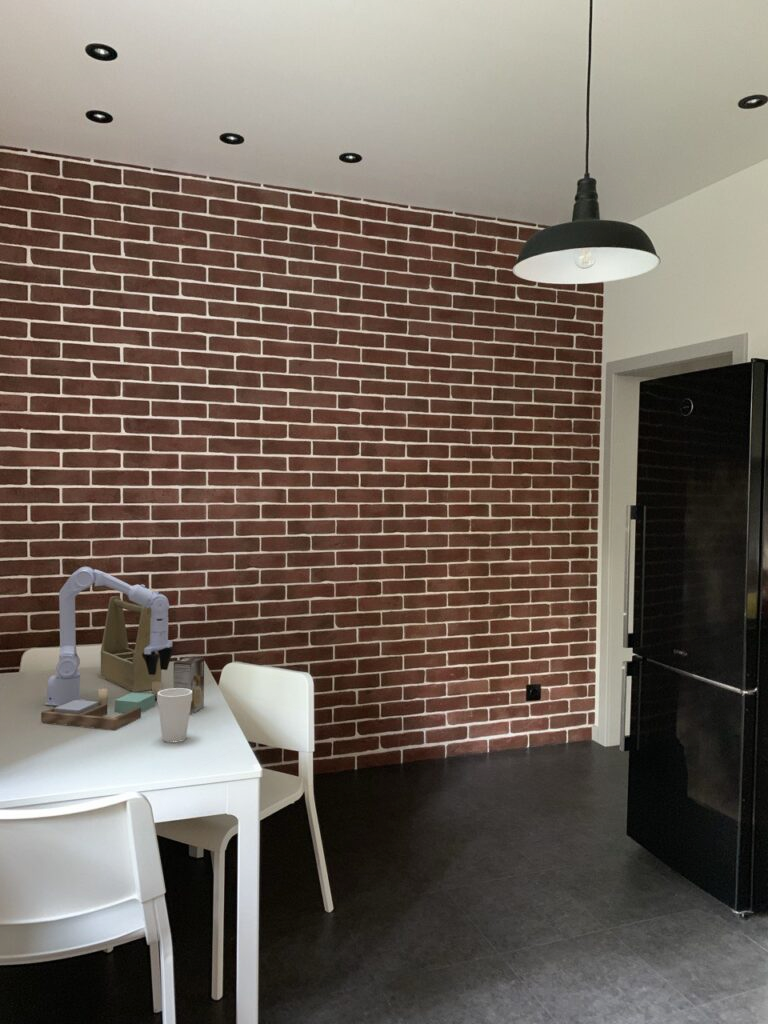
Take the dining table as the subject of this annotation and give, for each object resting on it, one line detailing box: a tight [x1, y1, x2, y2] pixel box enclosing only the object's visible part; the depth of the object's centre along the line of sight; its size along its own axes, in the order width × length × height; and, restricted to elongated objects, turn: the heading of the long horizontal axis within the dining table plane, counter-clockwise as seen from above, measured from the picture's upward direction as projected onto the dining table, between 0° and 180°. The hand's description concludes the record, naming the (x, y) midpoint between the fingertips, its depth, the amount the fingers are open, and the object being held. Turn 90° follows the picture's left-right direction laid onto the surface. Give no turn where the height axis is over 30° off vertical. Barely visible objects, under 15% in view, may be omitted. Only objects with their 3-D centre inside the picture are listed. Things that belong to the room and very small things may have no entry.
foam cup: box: [156, 687, 192, 743], centre depth 208 cm, size 10×9×13 cm
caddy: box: [100, 595, 162, 693], centre depth 271 cm, size 29×11×30 cm, turn 42°
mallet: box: [114, 681, 163, 714], centre depth 242 cm, size 8×20×6 cm, turn 168°
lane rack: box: [40, 701, 142, 731], centre depth 224 cm, size 24×14×3 cm, turn 77°
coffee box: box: [172, 656, 205, 715], centre depth 237 cm, size 9×6×16 cm
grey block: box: [53, 687, 109, 714], centre depth 231 cm, size 8×20×6 cm, turn 167°
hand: (158, 672), depth 250 cm, fingers open, 7 cm apart
